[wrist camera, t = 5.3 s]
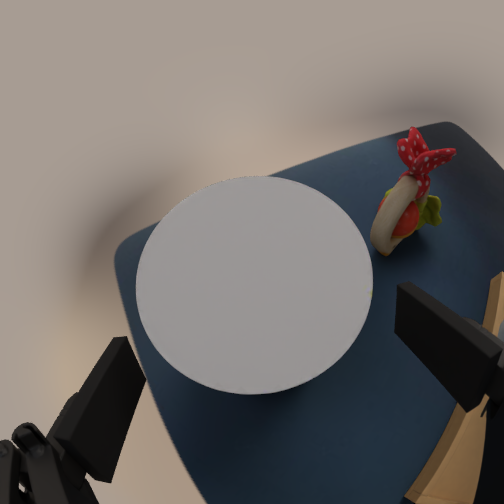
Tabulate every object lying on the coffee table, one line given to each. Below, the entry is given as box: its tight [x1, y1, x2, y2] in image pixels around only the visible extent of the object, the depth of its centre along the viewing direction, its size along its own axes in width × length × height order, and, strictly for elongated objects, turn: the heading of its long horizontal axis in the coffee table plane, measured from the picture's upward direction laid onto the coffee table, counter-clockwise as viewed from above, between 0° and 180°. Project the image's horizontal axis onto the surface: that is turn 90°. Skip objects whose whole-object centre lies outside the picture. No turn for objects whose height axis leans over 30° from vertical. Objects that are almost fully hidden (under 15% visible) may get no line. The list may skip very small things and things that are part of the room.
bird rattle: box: [370, 127, 456, 256], centre depth 19 cm, size 6×11×9 cm
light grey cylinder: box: [136, 176, 373, 394], centre depth 14 cm, size 8×8×12 cm
